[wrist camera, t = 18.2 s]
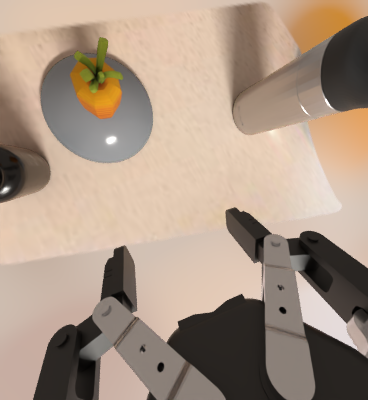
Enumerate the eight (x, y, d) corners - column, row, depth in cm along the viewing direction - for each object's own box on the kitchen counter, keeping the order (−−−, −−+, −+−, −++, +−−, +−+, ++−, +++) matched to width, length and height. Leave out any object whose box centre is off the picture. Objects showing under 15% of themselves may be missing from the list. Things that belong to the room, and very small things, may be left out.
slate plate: (130, 49, 28) (131, 45, 27) (164, 146, 33) (165, 146, 32) (19, 67, 24) (15, 63, 23) (76, 176, 29) (74, 176, 28)
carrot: (105, 89, 27) (96, 8, 13) (126, 119, 29) (136, 74, 15) (77, 105, 26) (36, 36, 12) (101, 135, 28) (87, 103, 14)
